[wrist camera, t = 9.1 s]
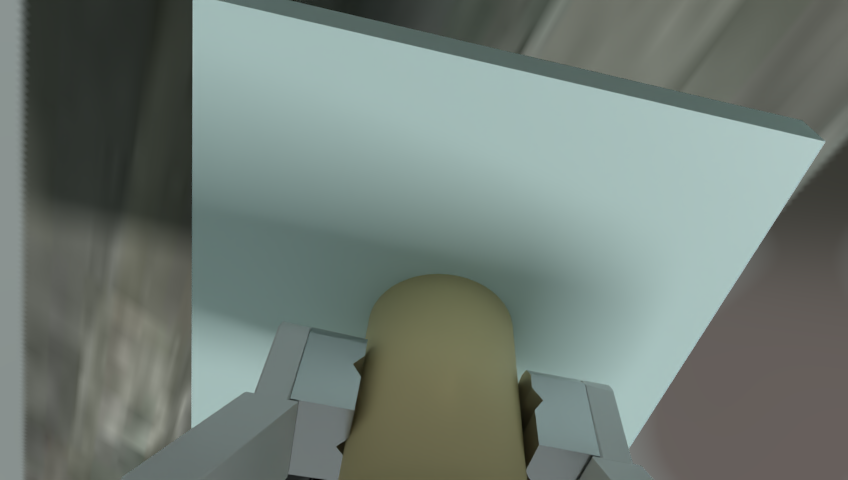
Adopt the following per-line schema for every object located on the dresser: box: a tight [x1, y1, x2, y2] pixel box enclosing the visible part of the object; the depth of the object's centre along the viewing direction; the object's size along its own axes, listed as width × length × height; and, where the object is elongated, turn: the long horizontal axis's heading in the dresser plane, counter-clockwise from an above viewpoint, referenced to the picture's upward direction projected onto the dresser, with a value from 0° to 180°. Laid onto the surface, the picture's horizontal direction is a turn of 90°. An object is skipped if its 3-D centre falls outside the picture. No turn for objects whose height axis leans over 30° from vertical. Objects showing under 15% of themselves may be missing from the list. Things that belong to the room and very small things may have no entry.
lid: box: [192, 0, 825, 480], centre depth 11 cm, size 11×10×6 cm
